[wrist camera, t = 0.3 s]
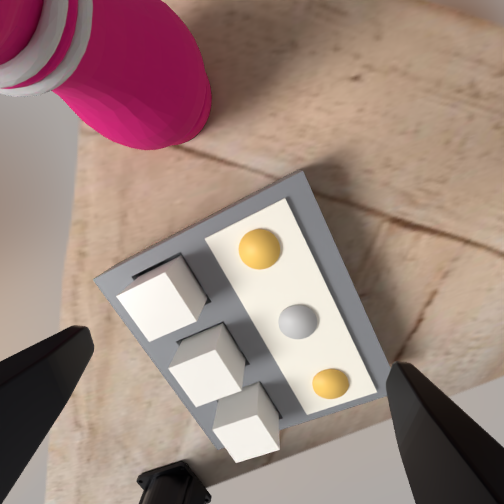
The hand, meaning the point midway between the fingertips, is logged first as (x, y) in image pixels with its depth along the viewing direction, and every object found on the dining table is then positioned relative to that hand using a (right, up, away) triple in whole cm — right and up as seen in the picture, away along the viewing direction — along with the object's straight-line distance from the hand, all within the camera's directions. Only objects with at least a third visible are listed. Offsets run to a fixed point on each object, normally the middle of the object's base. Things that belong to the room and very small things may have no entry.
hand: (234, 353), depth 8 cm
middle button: (-3, -5, +14) cm, 15 cm away
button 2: (0, -10, +16) cm, 19 cm away
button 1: (-5, 0, +12) cm, 14 cm away
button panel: (+1, -3, +16) cm, 16 cm away
